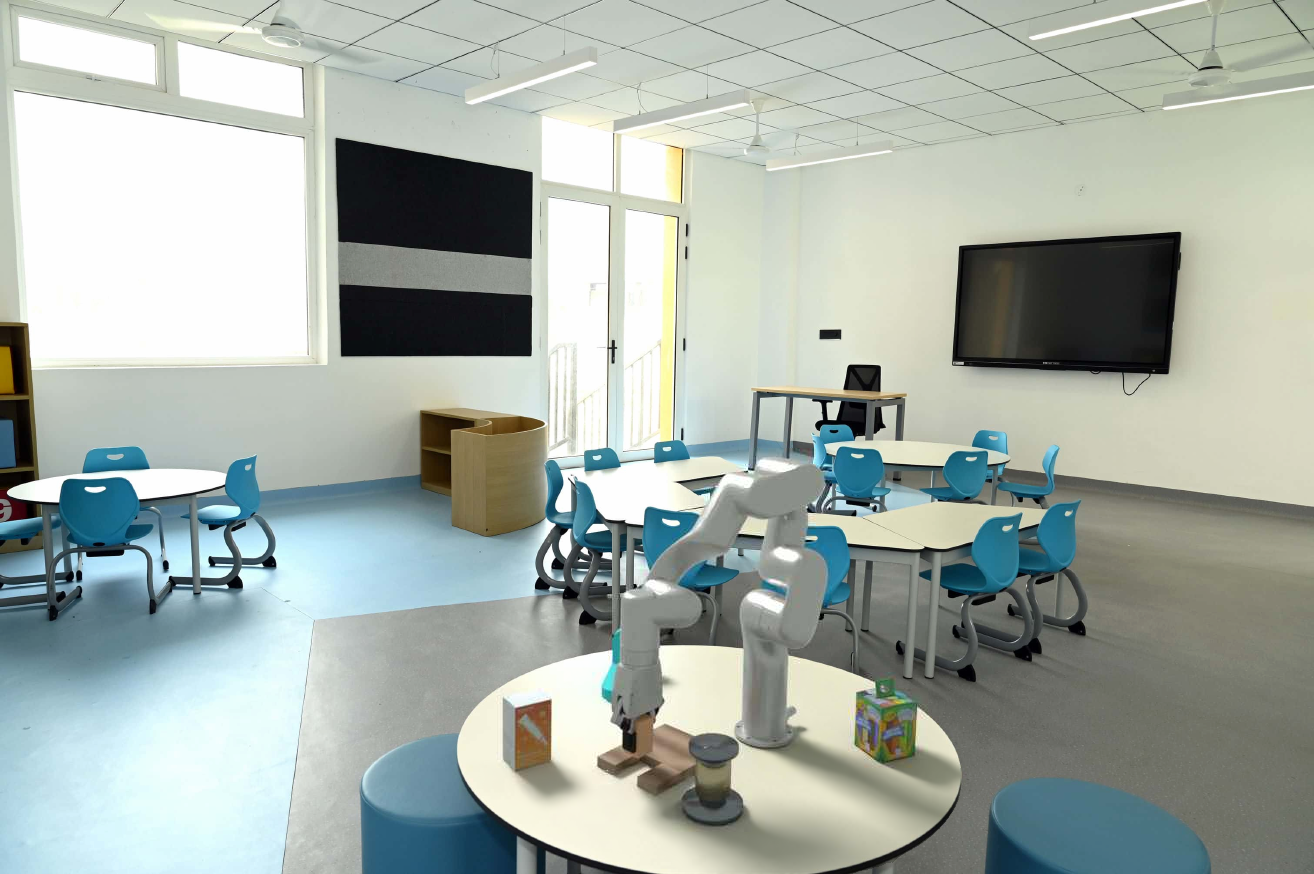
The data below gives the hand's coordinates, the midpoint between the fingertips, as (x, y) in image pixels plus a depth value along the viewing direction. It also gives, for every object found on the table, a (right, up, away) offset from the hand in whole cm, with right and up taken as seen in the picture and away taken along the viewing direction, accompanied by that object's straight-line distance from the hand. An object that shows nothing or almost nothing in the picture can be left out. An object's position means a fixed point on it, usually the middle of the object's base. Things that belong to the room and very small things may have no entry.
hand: (637, 745), depth 158 cm
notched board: (+5, -5, +6) cm, 9 cm away
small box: (-22, -5, +6) cm, 24 cm away
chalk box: (+51, -6, +12) cm, 53 cm away
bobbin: (+14, -7, -11) cm, 19 cm away
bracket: (-4, -2, +43) cm, 43 cm away
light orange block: (0, -1, 0) cm, 1 cm away
